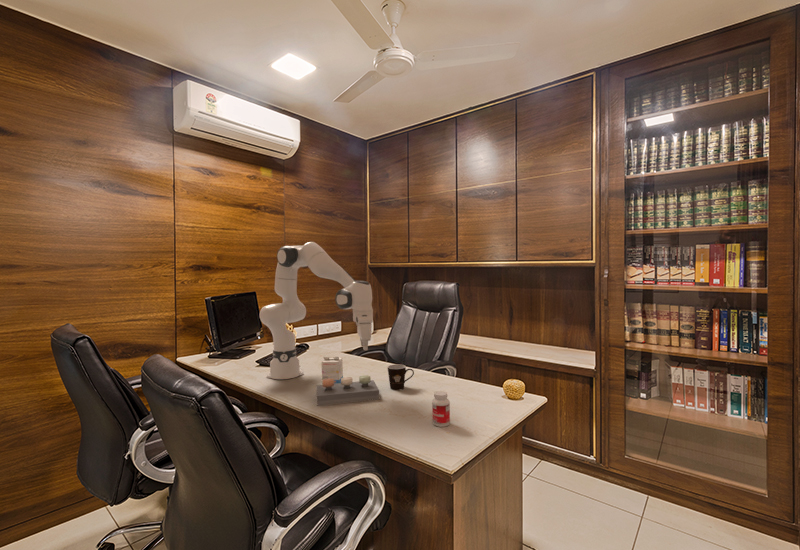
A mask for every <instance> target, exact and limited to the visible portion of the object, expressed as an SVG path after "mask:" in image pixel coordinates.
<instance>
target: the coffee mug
mask: <svg viewBox="0 0 800 550" xmlns="http://www.w3.org/2000/svg"><path fill="white" fill-rule="evenodd" d="M406 368H407V366H406V365H404V364H398V363H396V364H389V365H387V373H388V379H389V380H388V382H389V386H390V387H389V388H390V390H393V391H401V390H403V389H405V383H406V382H407V381H409V380H410V379H411V378H412V377H413V376H414V374H415V373H414V369H413V368H407V369H406ZM408 371H412V374H411V375H410V376H409V377H408V378H406V374H407V373H408Z"/></svg>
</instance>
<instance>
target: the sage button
mask: <svg viewBox="0 0 800 550" xmlns="http://www.w3.org/2000/svg"><path fill="white" fill-rule="evenodd" d="M358 382H359V383H362V387H368V383H370V382H371V375H360V376H359V377H358Z"/></svg>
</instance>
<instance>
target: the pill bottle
mask: <svg viewBox="0 0 800 550" xmlns="http://www.w3.org/2000/svg"><path fill="white" fill-rule="evenodd" d="M433 397H434V398H433V399H432V401H431V402H432V403H431V404H432V406H431V407H432V409H431V410H432V413H431V414H432V415H431V417H432V424H433V425H434V426H436V427H439V428H445V427H448V426H450V424H451V411H450V410H451V409H450V407H451V406H450V404H451V402H450V400H449V398H448V392H446V391H444V390H443V391H442V390H437V391H435V392H433Z"/></svg>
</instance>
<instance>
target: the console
mask: <svg viewBox="0 0 800 550" xmlns="http://www.w3.org/2000/svg"><path fill="white" fill-rule="evenodd" d="M376 400H377V401H378V400H380V389H379V387H378V386H377V384H376V382H375V380H373V379H372V380H371V382H370V383H368V387H362V383H359V381H353V384H351V385H350V389H344V385H341V383H337V384H334V386H332V387H331V390H328V391H326V387H323V385H322V384H317V385H316V406H319V407H320V405H321V406H330V405H337V404H338V405H340V404H347V403H357V402H358V403H359V402H368V401H376Z"/></svg>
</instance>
